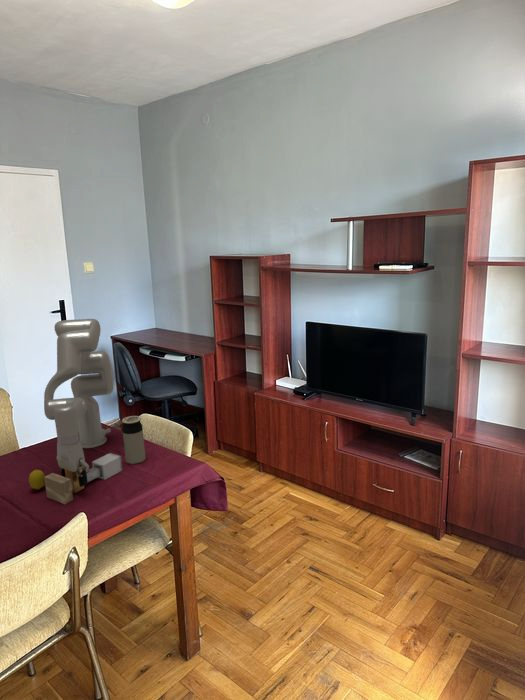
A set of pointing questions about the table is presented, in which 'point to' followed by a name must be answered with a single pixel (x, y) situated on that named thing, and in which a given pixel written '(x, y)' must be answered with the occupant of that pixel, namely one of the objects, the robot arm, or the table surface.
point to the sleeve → (109, 465)
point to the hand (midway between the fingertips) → (74, 481)
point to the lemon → (37, 479)
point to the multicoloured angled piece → (74, 476)
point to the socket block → (58, 488)
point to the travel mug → (133, 439)
